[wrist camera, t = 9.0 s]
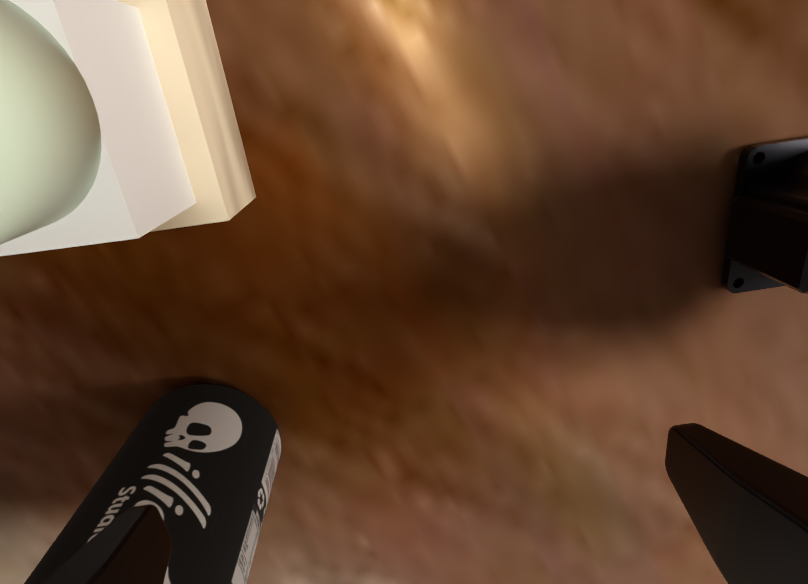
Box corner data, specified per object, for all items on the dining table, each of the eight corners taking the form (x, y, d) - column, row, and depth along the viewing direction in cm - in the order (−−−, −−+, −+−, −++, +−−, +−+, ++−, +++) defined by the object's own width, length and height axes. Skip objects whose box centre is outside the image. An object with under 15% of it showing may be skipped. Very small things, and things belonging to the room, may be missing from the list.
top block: (137, 8, 13) (44, -26, 9) (196, 202, 15) (138, 238, 11) (-59, 33, 13) (-233, 9, 9) (27, 224, 15) (-85, 267, 11)
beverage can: (122, 399, 22) (-126, 700, 11) (248, 357, 22) (117, 629, 11) (191, 494, 25) (44, 814, 14) (305, 458, 24) (247, 761, 13)
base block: (206, -2, 16) (157, -30, 13) (257, 196, 19) (228, 220, 15) (9, 26, 16) (-98, 5, 13) (88, 219, 19) (20, 249, 15)
